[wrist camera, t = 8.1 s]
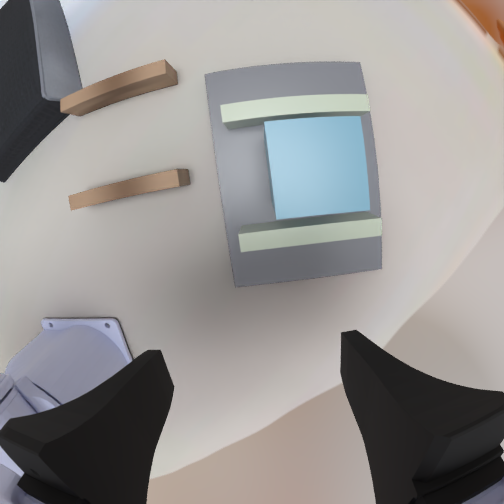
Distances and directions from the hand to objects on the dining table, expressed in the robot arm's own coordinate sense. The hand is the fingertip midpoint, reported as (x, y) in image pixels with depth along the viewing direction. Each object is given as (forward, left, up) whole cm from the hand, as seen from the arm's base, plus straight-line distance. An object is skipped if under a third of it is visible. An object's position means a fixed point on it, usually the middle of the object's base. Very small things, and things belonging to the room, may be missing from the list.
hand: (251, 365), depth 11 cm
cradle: (-7, +11, -9) cm, 16 cm away
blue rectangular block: (+4, +7, -9) cm, 12 cm away
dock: (+4, +7, -9) cm, 12 cm away
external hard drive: (-19, +22, -10) cm, 31 cm away
